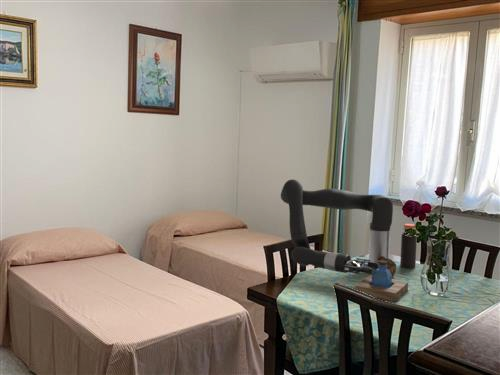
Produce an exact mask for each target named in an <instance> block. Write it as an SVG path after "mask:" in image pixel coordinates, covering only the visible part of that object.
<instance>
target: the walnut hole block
mask: <svg viewBox="0 0 500 375" xmlns="http://www.w3.org/2000/svg"><path fill="white" fill-rule="evenodd" d="M372 276H373V275H371V274H368V276H367V277H365V278H364V279H362V280H361V281H359V282H357V283H356V284H355V286H354V290H355V289H356V290H358V291H361V292H364V293H366V294H368V295H371V296H373V297H376V298H375V299H377V298H379V300H382V301H383V300H384V301H387V302H393V303H396V302H398V301H399V300H400V298H402V297H403V296H404V295H405V294H406V293H407V292H408V291H409V281H404V280H397V279H393V278H392V286H391V287H390V288H384V287H379V286H374V285H372Z"/></svg>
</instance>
